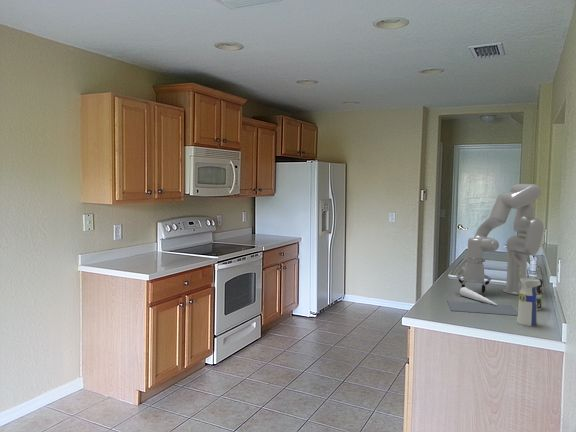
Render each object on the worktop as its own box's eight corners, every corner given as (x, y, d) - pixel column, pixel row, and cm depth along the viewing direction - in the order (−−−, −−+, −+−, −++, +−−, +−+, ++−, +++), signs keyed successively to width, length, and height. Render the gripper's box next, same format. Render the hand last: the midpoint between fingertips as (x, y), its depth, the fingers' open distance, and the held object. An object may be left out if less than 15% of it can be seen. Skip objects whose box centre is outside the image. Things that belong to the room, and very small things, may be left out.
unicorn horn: (490, 306, 224) (491, 296, 223) (458, 295, 246) (458, 286, 246) (498, 305, 225) (499, 296, 225) (466, 295, 248) (466, 286, 247)
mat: (511, 305, 227) (511, 305, 227) (520, 316, 210) (520, 315, 210) (447, 301, 234) (447, 300, 234) (451, 310, 217) (451, 310, 217)
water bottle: (528, 327, 194) (531, 268, 192) (511, 321, 202) (514, 265, 200) (542, 325, 197) (545, 267, 195) (525, 319, 205) (528, 263, 203)
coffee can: (539, 306, 227) (541, 278, 226) (542, 311, 218) (544, 282, 217) (516, 303, 231) (518, 276, 230) (518, 309, 222) (520, 280, 221)
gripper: (490, 260, 248) (489, 291, 249) (456, 258, 252) (455, 289, 253) (493, 263, 240) (491, 295, 242) (458, 261, 245) (456, 292, 246)
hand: (473, 292), depth 247 cm, fingers open, 9 cm apart
